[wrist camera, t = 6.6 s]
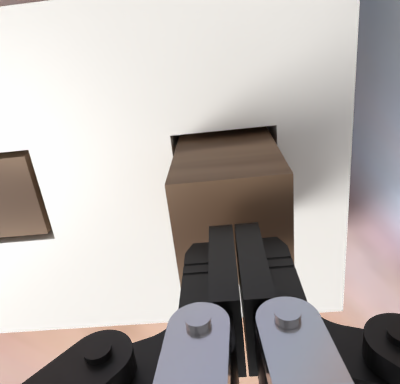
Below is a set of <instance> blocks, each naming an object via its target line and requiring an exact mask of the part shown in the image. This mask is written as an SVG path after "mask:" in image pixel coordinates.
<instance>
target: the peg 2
mask: <svg viewBox="0 0 400 384" xmlns="http://www.w3.org/2000/svg"><path fill="white" fill-rule="evenodd" d="M165 192H166V198H167V204H168V211H169V217H170V224H171V230H172V236H173V243H174V249H175V255H176V262H177V268H178V274H179V281H180V287H181V283H182V276H183V266H184V258H185V253H186V251H187V250H188V249H189V248H190V246H191V245H192V244H193V243H204V242H209V226H217V225H229V224H232V227H233V236H234V245H235V255H236V264H237V253H236V240H235V228H234V224H240V223H253V222H258V224H259V228H260V232H261V236H262V238H267V237H278V238H279V239H280V240H282V241H283V242H284V243H285V244H286V245H288V248H289V251H290V254H291V258H292V259H293V262H294V183H293V172H292V170H291V168H290V167H289V165H288V163H287V162H286V160H285V158H284V156H283V155H282V153H281V151H280V149H279V148H278V146H277V144H276V143H275V141H274V139H273V137H272V136H271V134H270V132H269V130H268V129H267V127H266V126H264V127H253V128H243V129H233V130H223V131H213V132H203V133H193V134H183V135H180V136H179V139H178V143H177V146H176V149H175V152H174V156H173V159H172V162H171V165H170V169H169V172H168V175H167V178H166V182H165ZM237 273H238V265H237ZM238 283H239V276H238Z"/></svg>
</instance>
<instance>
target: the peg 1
mask: <svg viewBox="0 0 400 384" xmlns="http://www.w3.org/2000/svg"><path fill="white" fill-rule="evenodd" d="M51 229H52V227H51V224H50V220H49V217H48V214H47V210H46V207H45V204H44V200H43V197H42V194H41V191H40V187H39V184H38V181H37V177H36V174H35V171H34V167H33V164H32V161H31V157H30V154H29V151H28V150H21V151H11V152H1V153H0V238H1V237H13V236H25V235H37V234H48V233H49V232H50V231H51Z"/></svg>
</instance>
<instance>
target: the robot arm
mask: <svg viewBox="0 0 400 384" xmlns="http://www.w3.org/2000/svg"><path fill="white" fill-rule="evenodd" d="M234 228H235V240H236V253H237V264H236V255H235V245H234V236H233V227H232V224H229V225H217V226H209V242H204V243H193V244H192V245H191V246H190V248H189V249H188V250H187V251H186V253H185V258H184V266H183V276H182V283H181V291H180V299H179V308H178V310H177V311H176V312H175V313H174V314H173V315H172V316H171V317H170V319H169V321H168V325H167V328H166V329H165V330H164V331H162V332H161V333H159V334H157V335H155V336H152V337H150V338H147V339H144V340H141V341H137V342H134V343H132V342H131V340H130V338H129V337H128V336H127V335H126V334H125V333H123V332H120V331H117V330H103V331H98V332H95V333H92V334H90V335H88V336H86V337H84V338H83V339H81V340H80V341H78V342H77V343H76V344H74V345H73V346H72V347H70V348H69V349H68V350H66V351H65V352H64V353H62V354H61V355H60V356H58V357H57V358H56V359H54V360H53V361H51V362H50V363H49V364H47V365H46V366H45V367H43V368H42V369H41V370H39V371H38V372H37V373H35V374H34V375H33V376H31V377H30V378H29V379H27V380H26V381H25V382H23V383H22V384H239V377H247V376H246V363H245V351H244V339H243V326H242V314H243V323H244V332H245V342H246V351H247V360H248V369H249V376H258V379H259V384H400V314H396V313H385V314H379V315H376V316H374V317H372V318H370V319H369V320H368V321H367V322H366V324H365V326H364V329H361V328H355V327H349V326H344V325H339V324H336V323H333V322H330V321H328V320H326V319H324V318H322V317H321V316H320V314H319V312H318V311H317V309H316V308H315V307H314V306H313V305H311V304H310V303H308V302H307V299H306V296H305V293H304V290H303V288H302V285H301V282H300V279H299V276H298V274H297V271H296V268H295V265H294V262H293V259H292V258H291V254H290V251H289V248H288V245H286V244H285V243H284V242H283V241H282V240H280V239H279V238H278V237H267V238H262V236H261V232H260V228H259V224H258V222H253V223H240V224H234ZM237 265H238V273H237ZM238 276H239V283H238ZM239 287H240V292H239ZM240 296H241V302H240ZM241 305H242V314H241Z"/></svg>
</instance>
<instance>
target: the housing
mask: <svg viewBox="0 0 400 384" xmlns="http://www.w3.org/2000/svg"><path fill="white" fill-rule="evenodd" d="M359 6H360V0H48V1H40V2H32V3H24V4H16V5H8V6H1V7H0V153H1V152H11V151H21V150H28V151H29V154H30V157H31V161H32V164H33V167H34V171H35V174H36V177H37V181H38V184H39V187H40V191H41V194H42V197H43V200H44V204H45V207H46V210H47V214H48V217H49V220H50V224H51V227H52V229H51V231H50V232H49V233H48V234H37V235H25V236H13V237H1V238H0V333H9V332H24V331H40V330H55V329H71V328H86V327H102V326H117V325H133V324H149V323H164V322H168V321H169V319H170V317H171V316H172V315H173V314H174V313H175V312H176V311H177V310H178V308H179V299H180V291H181V287H180V281H179V274H178V268H177V262H176V255H175V249H174V243H173V236H172V230H171V224H170V217H169V211H168V204H167V198H166V192H165V182H166V178H167V175H168V172H169V169H170V165H171V162H172V159H173V156H174V152H175V149H176V146H177V143H178V139H179V136H180V135H183V134H193V133H203V132H213V131H223V130H233V129H243V128H253V127H264V126H266V127H267V129H268V130H269V132H270V134H271V136H272V137H273V139H274V141H275V143H276V144H277V146H278V148H279V149H280V151H281V153H282V155H283V156H284V158H285V160H286V162H287V163H288V165H289V167H290V168H291V170H292V172H293V183H294V265H295V268H296V271H297V274H298V276H299V279H300V282H301V285H302V288H303V290H304V293H305V296H306V299H307V302H308V303H310V304H311V305H313V306H314V307H315V308H316V309H317V311H318V312H335V311H343V300H344V282H345V263H346V245H347V227H348V208H349V190H350V172H351V153H352V135H353V117H354V98H355V80H356V61H357V43H358V25H359ZM239 292H240V287H239ZM240 302H241V296H240ZM241 314H242V305H241ZM242 317H243V314H242Z"/></svg>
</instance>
